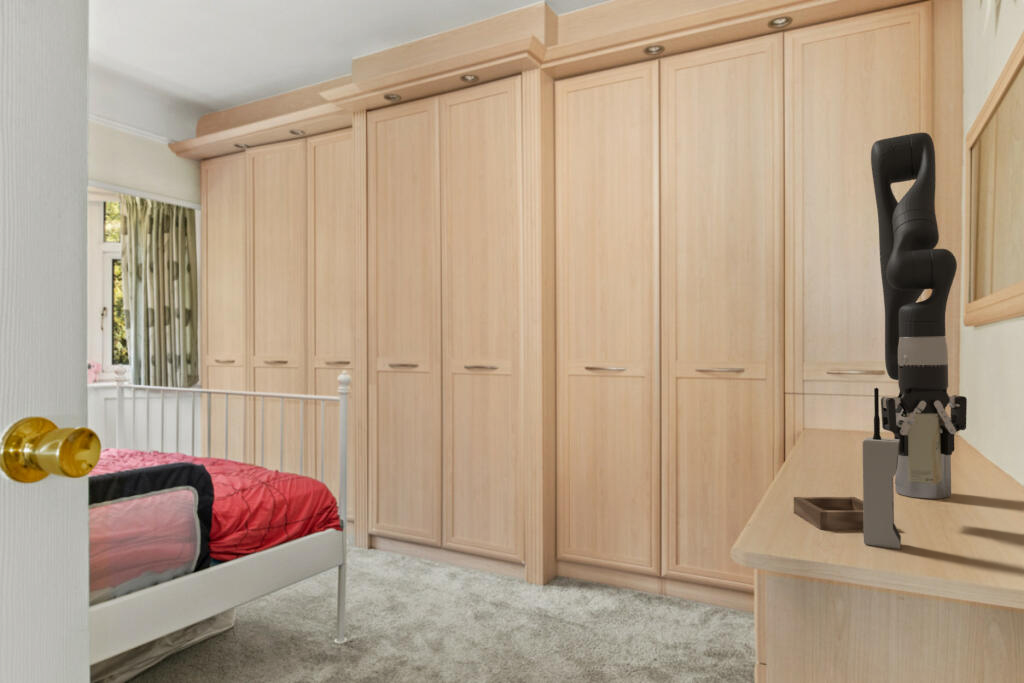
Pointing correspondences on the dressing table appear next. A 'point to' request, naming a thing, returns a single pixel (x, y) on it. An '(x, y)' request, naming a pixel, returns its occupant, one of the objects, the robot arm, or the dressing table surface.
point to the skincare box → (924, 449)
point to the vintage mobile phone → (879, 486)
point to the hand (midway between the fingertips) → (924, 454)
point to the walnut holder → (831, 512)
